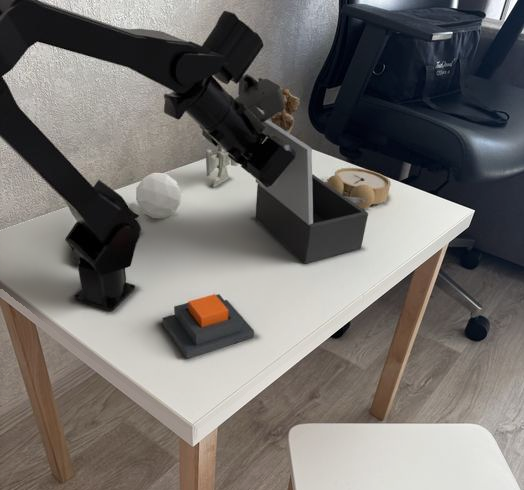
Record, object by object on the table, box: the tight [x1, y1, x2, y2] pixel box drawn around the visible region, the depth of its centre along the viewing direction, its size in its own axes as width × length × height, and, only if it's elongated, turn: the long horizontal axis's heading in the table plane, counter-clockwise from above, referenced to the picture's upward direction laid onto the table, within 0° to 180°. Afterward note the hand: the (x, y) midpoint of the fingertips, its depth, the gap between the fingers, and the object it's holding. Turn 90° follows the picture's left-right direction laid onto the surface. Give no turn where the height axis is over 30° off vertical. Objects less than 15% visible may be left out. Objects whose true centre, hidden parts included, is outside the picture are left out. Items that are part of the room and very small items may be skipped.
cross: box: [205, 146, 238, 188], centre depth 111 cm, size 10×3×10 cm, turn 149°
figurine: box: [270, 87, 301, 134], centre depth 120 cm, size 7×6×15 cm
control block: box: [161, 293, 255, 360], centre depth 78 cm, size 10×8×3 cm
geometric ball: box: [135, 171, 182, 219], centre depth 100 cm, size 8×8×8 cm
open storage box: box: [254, 173, 369, 265], centre depth 99 cm, size 12×17×7 cm
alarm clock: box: [325, 167, 392, 210], centre depth 112 cm, size 11×5×15 cm
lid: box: [254, 119, 313, 225], centre depth 90 cm, size 12×17×1 cm
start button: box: [187, 293, 228, 328], centre depth 76 cm, size 4×4×2 cm
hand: (276, 174), depth 90 cm, fingers closed
